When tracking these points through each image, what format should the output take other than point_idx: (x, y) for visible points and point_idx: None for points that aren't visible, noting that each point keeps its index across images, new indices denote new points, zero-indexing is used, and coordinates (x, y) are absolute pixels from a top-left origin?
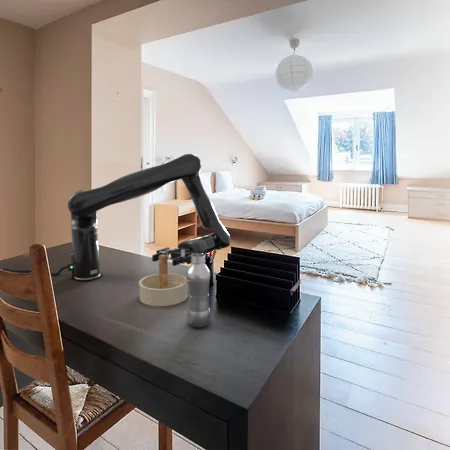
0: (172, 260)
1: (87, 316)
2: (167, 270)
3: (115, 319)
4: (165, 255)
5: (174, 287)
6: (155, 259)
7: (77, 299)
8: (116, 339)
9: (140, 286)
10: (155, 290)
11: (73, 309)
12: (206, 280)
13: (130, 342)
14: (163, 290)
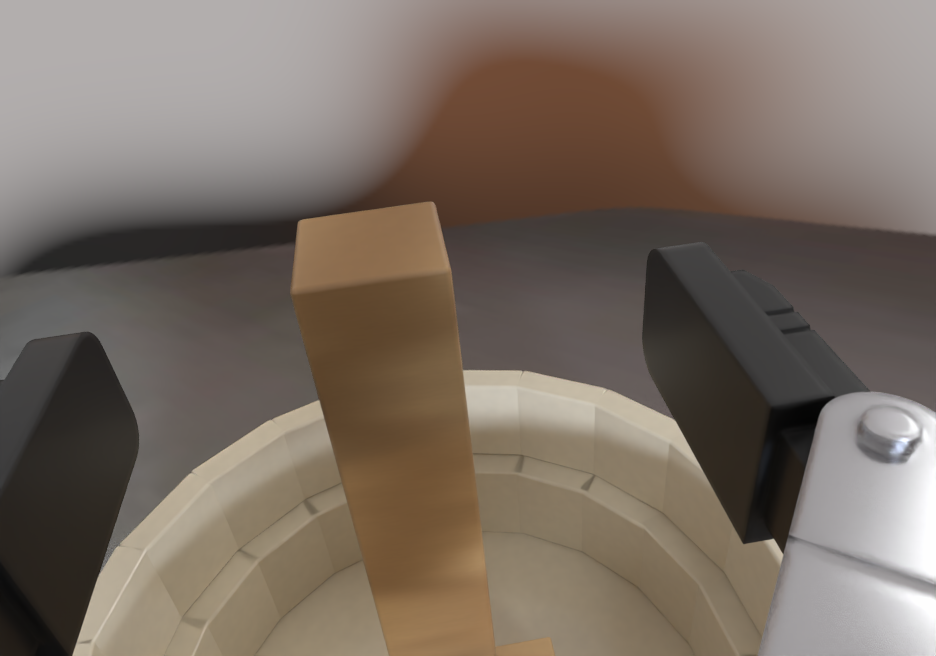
0: (90, 340)
1: (598, 260)
2: (361, 550)
3: None
4: (309, 260)
5: (127, 559)
6: (660, 354)
7: (930, 287)
8: (260, 264)
9: (523, 377)
10: (304, 412)
11: (751, 246)
12: None
13: (181, 283)
14: (226, 458)
